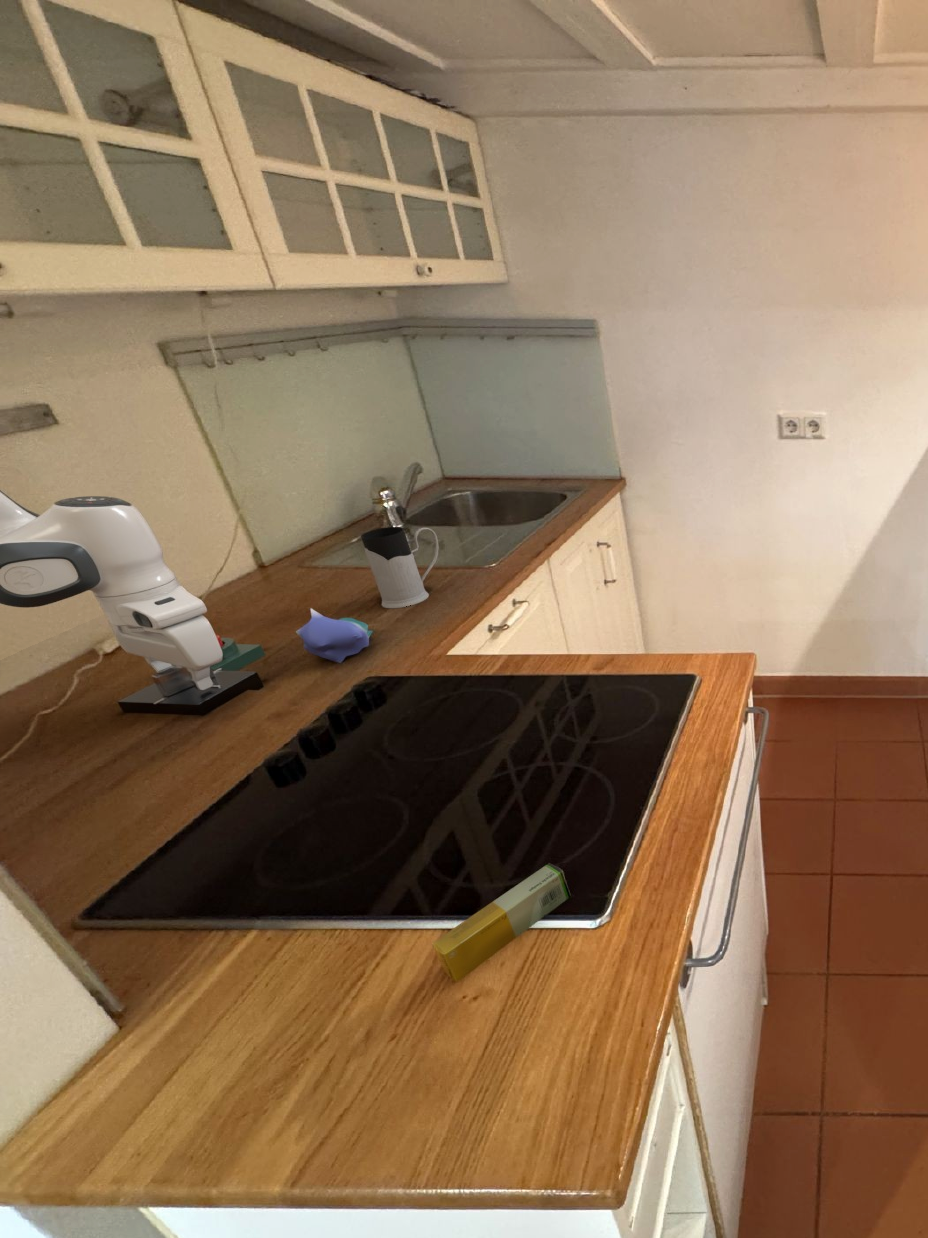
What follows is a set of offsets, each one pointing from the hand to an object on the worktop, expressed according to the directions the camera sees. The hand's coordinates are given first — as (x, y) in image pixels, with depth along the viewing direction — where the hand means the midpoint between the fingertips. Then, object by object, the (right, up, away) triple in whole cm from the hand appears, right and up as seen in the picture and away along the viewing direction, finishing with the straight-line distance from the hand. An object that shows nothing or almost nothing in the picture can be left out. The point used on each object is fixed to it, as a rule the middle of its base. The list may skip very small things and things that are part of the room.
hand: (187, 683), depth 107 cm
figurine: (+14, +4, +16) cm, 21 cm away
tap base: (0, -3, +2) cm, 4 cm away
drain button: (-7, +5, +11) cm, 14 cm away
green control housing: (-7, +2, +12) cm, 14 cm away
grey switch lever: (0, 0, 0) cm, 0 cm away
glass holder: (+12, +15, +39) cm, 44 cm away
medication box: (+72, -21, -41) cm, 85 cm away
